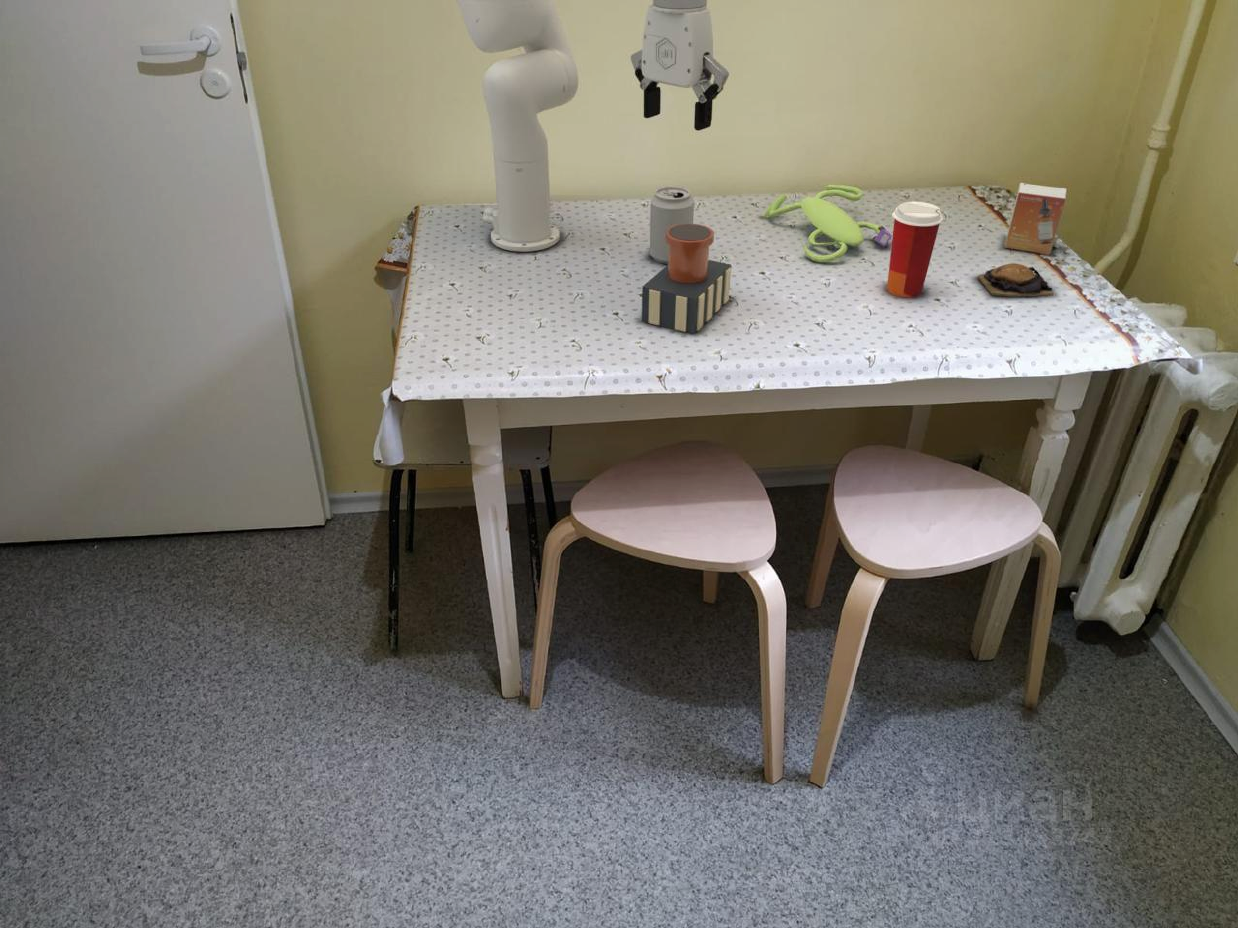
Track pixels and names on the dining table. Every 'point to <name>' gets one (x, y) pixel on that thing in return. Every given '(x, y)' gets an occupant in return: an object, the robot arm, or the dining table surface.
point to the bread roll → (1015, 281)
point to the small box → (1035, 218)
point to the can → (668, 217)
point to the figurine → (830, 221)
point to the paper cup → (912, 247)
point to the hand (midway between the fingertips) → (676, 122)
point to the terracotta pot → (688, 252)
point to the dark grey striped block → (685, 299)
